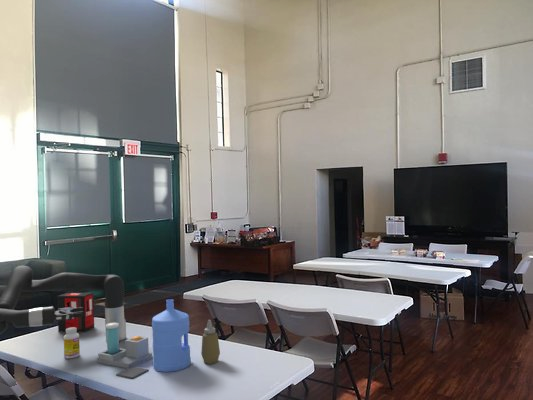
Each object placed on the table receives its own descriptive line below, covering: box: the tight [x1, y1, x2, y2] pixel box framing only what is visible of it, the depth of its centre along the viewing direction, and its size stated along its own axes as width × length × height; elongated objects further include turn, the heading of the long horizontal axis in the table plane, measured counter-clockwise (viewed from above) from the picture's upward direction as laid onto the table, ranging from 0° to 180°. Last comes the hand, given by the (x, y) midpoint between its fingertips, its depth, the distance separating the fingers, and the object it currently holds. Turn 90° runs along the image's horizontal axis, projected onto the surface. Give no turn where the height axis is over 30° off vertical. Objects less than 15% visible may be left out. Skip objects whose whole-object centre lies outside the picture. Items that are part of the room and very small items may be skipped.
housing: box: [96, 336, 153, 369], centre depth 194 cm, size 14×19×9 cm
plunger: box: [132, 335, 142, 341], centre depth 195 cm, size 4×4×5 cm
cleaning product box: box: [56, 292, 95, 333], centre depth 246 cm, size 16×9×20 cm, turn 81°
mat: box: [115, 366, 149, 380], centre depth 179 cm, size 9×9×1 cm
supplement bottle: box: [63, 327, 81, 359], centre depth 202 cm, size 7×7×13 cm
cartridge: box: [105, 323, 120, 355], centre depth 194 cm, size 5×5×14 cm
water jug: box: [151, 298, 192, 373], centre depth 185 cm, size 16×16×28 cm
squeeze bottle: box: [201, 319, 221, 365], centre depth 188 cm, size 8×8×18 cm
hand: (83, 311), depth 189 cm, fingers open, 8 cm apart
